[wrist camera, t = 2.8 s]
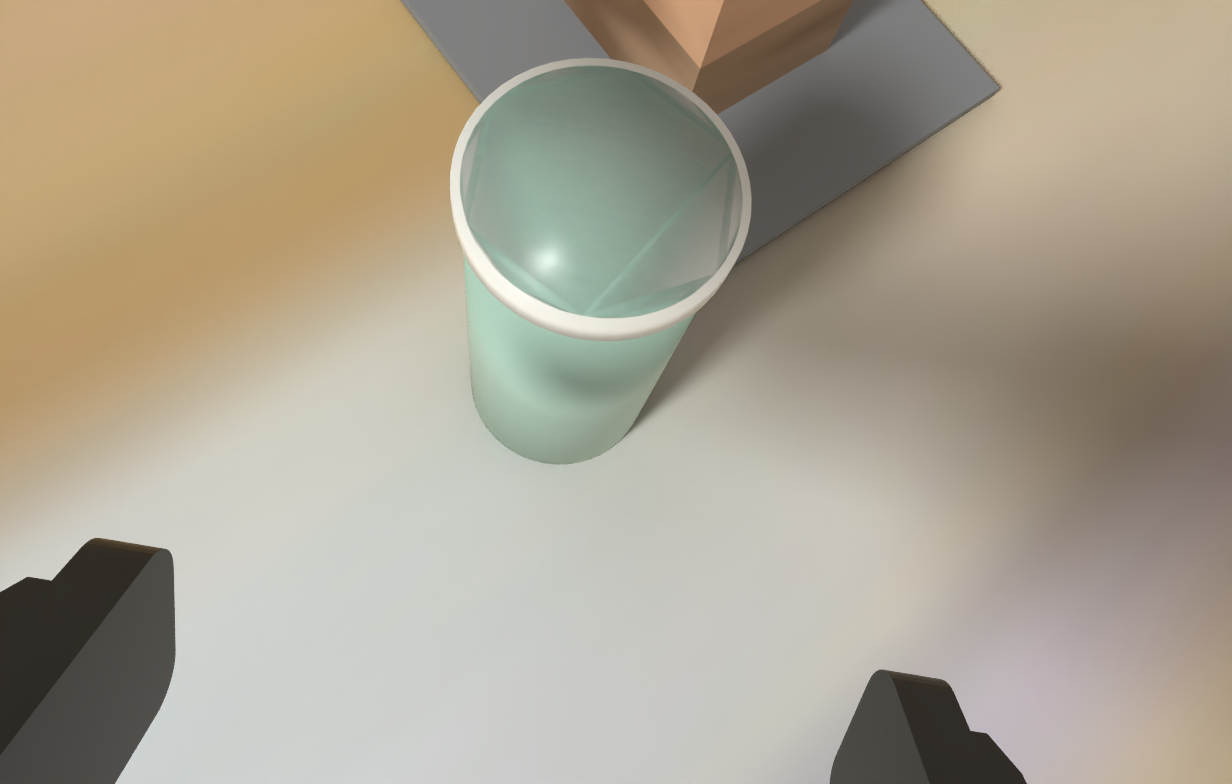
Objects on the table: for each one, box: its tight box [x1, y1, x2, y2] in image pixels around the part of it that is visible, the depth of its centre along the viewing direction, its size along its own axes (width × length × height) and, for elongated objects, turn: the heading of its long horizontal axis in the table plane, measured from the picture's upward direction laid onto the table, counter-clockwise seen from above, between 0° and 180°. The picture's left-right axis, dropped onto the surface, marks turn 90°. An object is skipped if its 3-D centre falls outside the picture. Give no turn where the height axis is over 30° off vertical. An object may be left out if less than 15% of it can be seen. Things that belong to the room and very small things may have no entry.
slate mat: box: [401, 0, 999, 265], centre depth 28 cm, size 14×14×1 cm
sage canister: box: [450, 58, 752, 464], centre depth 19 cm, size 5×5×10 cm
